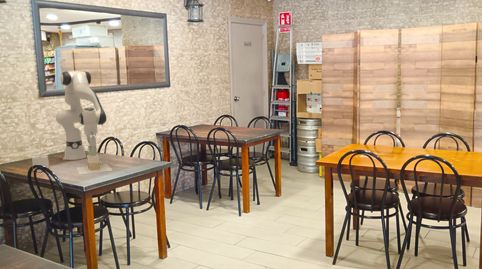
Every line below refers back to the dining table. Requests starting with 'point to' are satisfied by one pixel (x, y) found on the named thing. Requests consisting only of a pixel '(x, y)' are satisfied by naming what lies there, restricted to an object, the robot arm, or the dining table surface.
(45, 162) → the toilet tissue
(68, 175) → the dining table surface
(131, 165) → the dining table surface
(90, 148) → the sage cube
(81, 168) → the cream square board
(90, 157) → the cream tower block
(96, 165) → the oak tower block
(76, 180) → the dining table surface
